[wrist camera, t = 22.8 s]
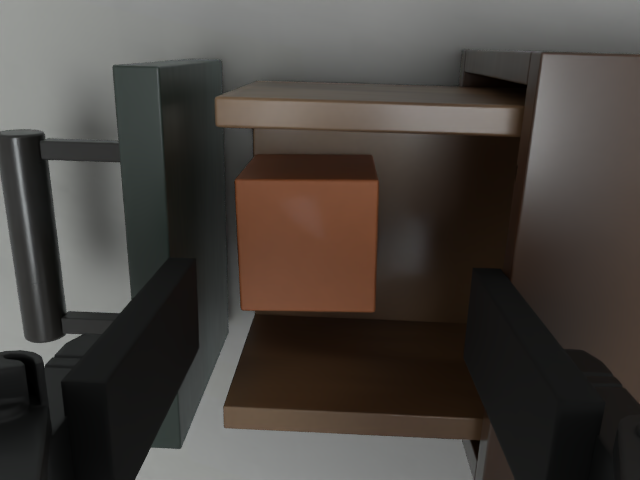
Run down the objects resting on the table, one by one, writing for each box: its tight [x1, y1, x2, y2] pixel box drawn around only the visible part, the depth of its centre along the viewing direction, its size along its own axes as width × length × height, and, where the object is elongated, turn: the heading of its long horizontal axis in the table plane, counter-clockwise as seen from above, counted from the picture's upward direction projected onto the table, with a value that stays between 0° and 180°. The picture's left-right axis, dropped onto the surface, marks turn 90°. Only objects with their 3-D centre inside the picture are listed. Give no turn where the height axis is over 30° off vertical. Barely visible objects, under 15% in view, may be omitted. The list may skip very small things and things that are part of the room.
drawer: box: [0, 59, 527, 449], centre depth 20 cm, size 18×11×8 cm, turn 89°
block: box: [234, 154, 379, 312], centre depth 20 cm, size 4×4×4 cm
